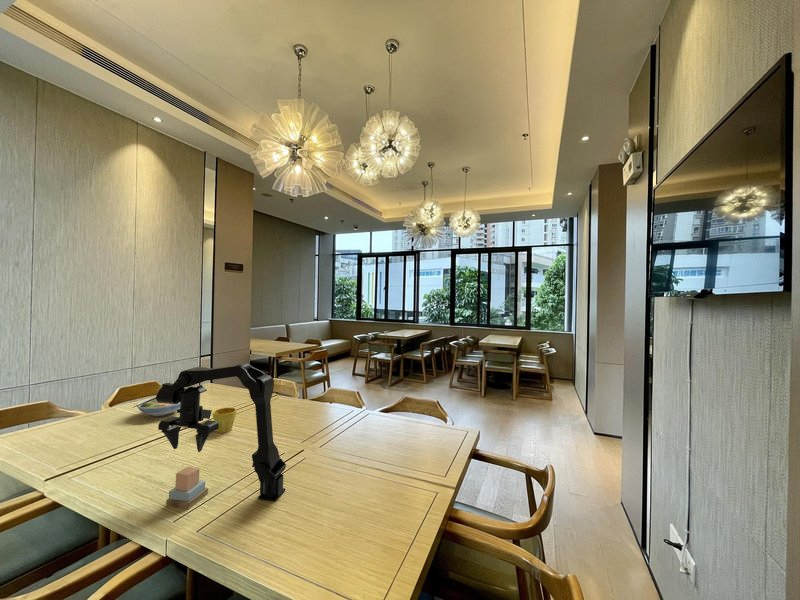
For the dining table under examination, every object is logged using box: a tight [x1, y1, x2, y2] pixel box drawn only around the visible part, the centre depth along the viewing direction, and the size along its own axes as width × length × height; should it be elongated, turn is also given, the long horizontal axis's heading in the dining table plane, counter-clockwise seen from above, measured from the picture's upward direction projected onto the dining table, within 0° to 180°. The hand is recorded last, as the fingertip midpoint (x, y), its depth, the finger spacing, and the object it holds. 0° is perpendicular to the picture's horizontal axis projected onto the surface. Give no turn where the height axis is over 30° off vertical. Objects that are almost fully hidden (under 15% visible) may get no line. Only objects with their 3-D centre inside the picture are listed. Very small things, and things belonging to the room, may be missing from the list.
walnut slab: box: [165, 487, 209, 510], centre depth 104 cm, size 8×8×2 cm
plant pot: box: [212, 406, 238, 434], centre depth 160 cm, size 10×10×10 cm
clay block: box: [175, 466, 200, 491], centre depth 104 cm, size 4×4×5 cm
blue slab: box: [168, 480, 206, 501], centre depth 104 cm, size 7×7×2 cm
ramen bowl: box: [131, 396, 180, 417], centre depth 179 cm, size 25×23×8 cm
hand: (187, 450), depth 110 cm, fingers open, 9 cm apart
